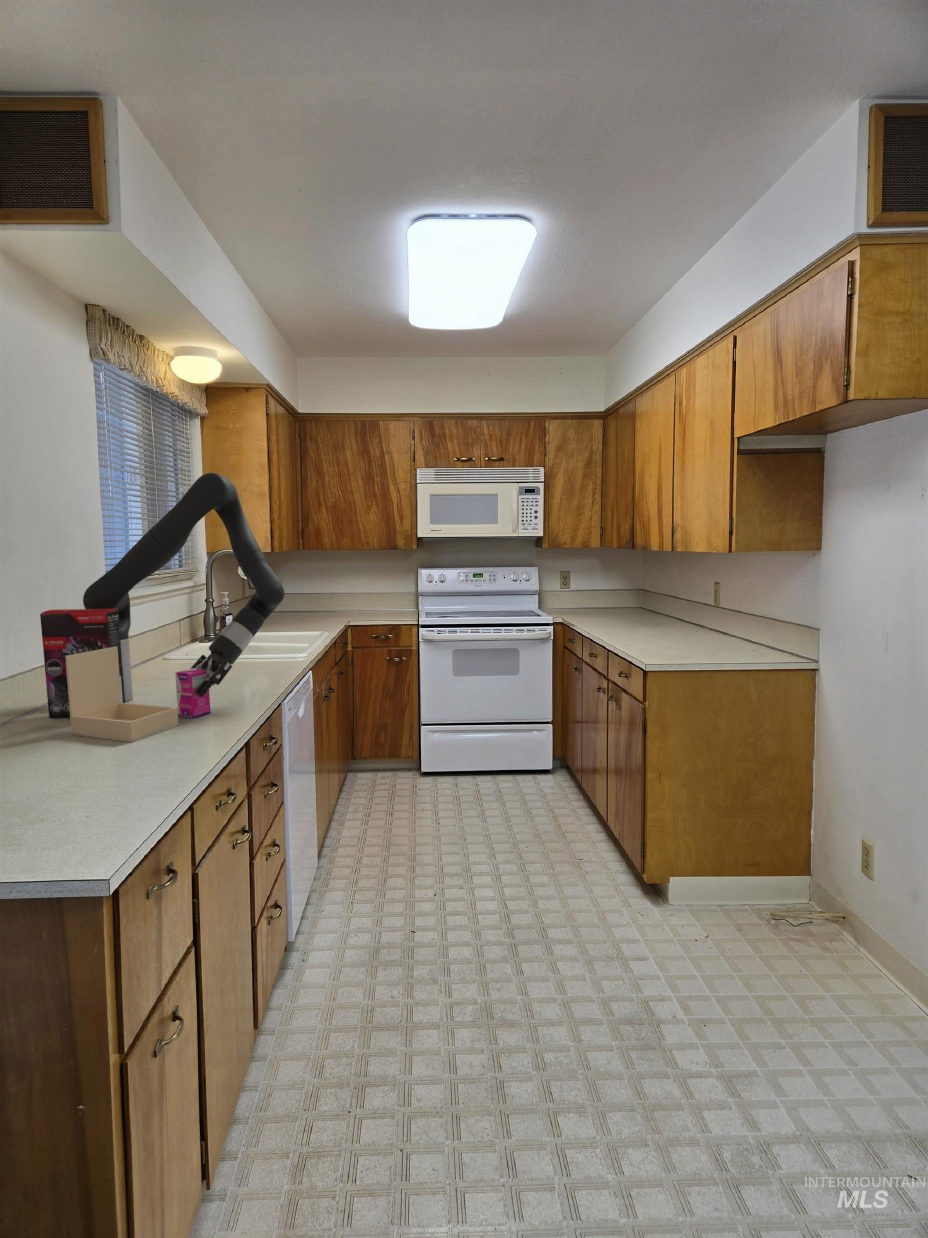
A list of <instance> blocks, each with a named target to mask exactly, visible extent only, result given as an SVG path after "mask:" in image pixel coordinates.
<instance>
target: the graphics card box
mask: <svg viewBox="0 0 928 1238" xmlns="http://www.w3.org/2000/svg"><path fill="white" fill-rule="evenodd" d="M39 616H40V618H39V619H40V625H41V626H40V627H41V639H42V650H43V661H44V671H45V673H44V675H45V684H46V685H45V686H46V695H47V708H48V718H49V719H70V708H69V695H68V683H67V670H66V657H65V656H67V655H73V654H78V653H83V652H89V651H94V650H100V649H105V648H111V647H117V648H118V662H119V677H120V691H121V703H126V702H125V691H124V679H123V667H122V655H121V641H120V627H119V610H118V608H115V609H85V608H76V609H73V608H72V609H71V608H70V609H68V608H67V609H66V608H65V609H63V608H62V609H49V610H45V611H42V612H41V613H40V614H39Z"/></svg>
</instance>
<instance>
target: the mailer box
mask: <svg viewBox="0 0 928 1238" xmlns="http://www.w3.org/2000/svg"><path fill="white" fill-rule="evenodd" d="M65 657H66V670H67V683H68V695H69V708H70V718H69V719H70V730H71V736H74V737H82V738H83V737H84V738H91V739H100V740H109V741H117V742H124V741H126V743H134V742H133V741H135V742H137V741H136V740H138V741H140V740H143V739H146V738H149V737H151V736H155V735H157V734H160V733H163V732H165V731H168V730H172V729H174V728H177V727H179V716H178V707H172V706H161V705H151V704H138V703H129V702H125V703H121V691H120V677H119V662H118V648H117V647H111V648H105V649H100V650H94V651H89V652H83V653H78V654H73V655H67V656H65ZM142 738H143V739H142ZM139 739H140V740H139Z"/></svg>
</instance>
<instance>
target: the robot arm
mask: <svg viewBox="0 0 928 1238" xmlns="http://www.w3.org/2000/svg"><path fill="white" fill-rule="evenodd" d="M212 510H214V511H215V513H216V514H217V515H218V517H219V518H220V520H221V521H222V524H223V525H224V527H225V529H226V532H227V535H228V538H229V543H230V547H231V549H232V552H233V555H234V557H235V560H236V562H237V563H238V565H239V568H240V569H241V571H242V573H243V574H244V576H245V578H246V579H248V580H250V582H251V584H252V585H253V587H254V589H255V592H254V593H253V595H252V596H251V598H250V599H249V601H247V603H246V604H245V606H244V607H242V608H241V609H240V610H239V611H238V612H237V613H236V614H235V616H234V617H233V618H232V619H231V621H230V622H229V623H228V624H226V626H224V628H223V629H222V630H221V632H219V634H218V635H217V636H216V638H215V639H214V640H213V641H212V642H211V644H210V645H209V646H208V650H209V651H210V654H208V656H206V655H204V654H202V655H200V657H199V658H198V659H197V660H196V661H195V662H194V663H193V665H192V666H191V667H190V668H189V669H192V668H194V669H202V670H207V671H206V674H207V676H206V679H205V680H206V681H203V682H202V684H201V685H200V686H199V687H198V689H197V690H196V691H195V693H196V694H197V695H198V696H200V697H203V696H204V695H205V694H206V692H207V691H208V690H209V691H210V689H211V687H214V686H215V685H216V686H217V685H220V684H221V683H222V681H223V680H224V679H225V677H226V676H227V675H228V673H229V672H230V670H231V669H232V668H233V664H235V662H236V661H237V660H238V658H239V657H240V656H241V655H242V653H243V652H244V651H245V650H246V648H247V647H248V646H249V645H250V643H251V642H252V639H253V638H254V637H255V636H256V634H258V632H259V631H260V629H261V628H262V626H263V625H264V622H265V621H266V620H267V619H269V618H268V617H270V615H271V614H272V613H273V612H274V611H275V610H276V609H277V607H278V606H279V605H280V604H281V603H282V602H283V600H284V598H285V589H284V586H283V584H282V582H281V580H280V579H279V577H278V575H276V573H275V572H274V571H273V568H271V567H270V565H269V563H268V561H267V559H266V557H265V554H264V553H263V551H262V549H261V547H260V545H259V543H258V541H257V540H256V537H255V535H254V533H253V531H252V529H251V527H250V525H249V522H248V520H247V516H246V515H245V513H244V510H243V507H242V504H241V500H240V496H239V494H238V491H237V488H236V486H235V484H234V482H233V481H232V480H230V479H229V478H228V477H225V476H224V475H222V474H219V473H215V472H208V473H205V474H203V475H202V474H201V476H199V477H198V478H197V479H196V480H195V481H194V482H193V484H192V485H191V486H190V488H188V490H187V491H186V492H185V494H184V495H183V496H182V497H181V499H180V500H179V501H178V502H177V503H176V504H175V505H174V506H173V507H172V508H171V509H170V510H169V511H167V513H166V514H165V515H163V517H162V518H161V519H160V520H158V522H156V523H155V524H154V525H153V526H152V527H151V528H150V529H148V531H147V532H146V533H144V535H143V536H142V537H141V538H139V540H137V542H136V543H135V544H134V545H133V546H132V547H131V548H130V549H129V550H128V551H127V552H126V553H125V555H123V556H122V558H120V559H119V561H118V562H117V563H116V564H115V565H114V566H113V567H111V569H110V570H108V571H107V572H106V573H104V574H103V575H102V576H101V577H100V578H98V579H97V580H96V581H94V582H93V583H91V584H90V585H89V586H88V587H87V588H86V590H85V591H84V594H83V598H82V604H83V607H84V609H115V608H118V610H119V627H120V641H121V655H122V667H123V679H124V691H125V703H127V702H129V701H131V700H133V698H134V696H133V695H134V693H133V692H134V691H133V681H132V680H133V679H132V666H131V654H130V653H131V652H130V650H131V649H130V639H129V637H130V636H129V635H130V634H129V633H130V629H131V599H130V594H129V592H130V591H132V589H133V588H134V587H135V586H137V585H138V584H139V583H141V582H142V581H143V580H145V579H146V578H148V577H150V576H151V575H153V574H155V573H156V572H157V571H159V570H161V569H162V568H164V567H165V566H166V565H167V564H168V563H169V562H170V561H172V560H173V558H175V556H176V555H177V554H179V552H180V551H182V548H183V547H184V546H185V545H186V543H187V541H188V539H189V537H190V534H191V533H192V532H193V529H194V528H195V526H196V525H197V524H198V523H199V521H200V520H202V519H203V518H204V517H205V516H206V515H207V514H209V513H210V512H211V511H212Z"/></svg>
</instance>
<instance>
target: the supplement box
mask: <svg viewBox="0 0 928 1238" xmlns="http://www.w3.org/2000/svg"><path fill="white" fill-rule="evenodd" d="M206 671H207V670H202V669H196V668H195V669H194V668H192V669H190V668H188V669H184V670H180V671H176V672H174V673H175V687H176V702H177V703H176V704H177V712H178V717H183V718H185V717H186V718H189V719H190V718H191V719H197V718H200V717H204V716H207V715H211V713H212V712H211V711H212V710H211V701H210V700H211V697H210V689H209V690H208V691H207V692H206V694H205V695H204V696H203V697H200V696H198V695H197V694H196V693H195V691H196V690H197V689H198V687H199V686H200V685H201V684H202V682H203V681H206V680H205V679H206V676H207V674H206Z"/></svg>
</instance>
